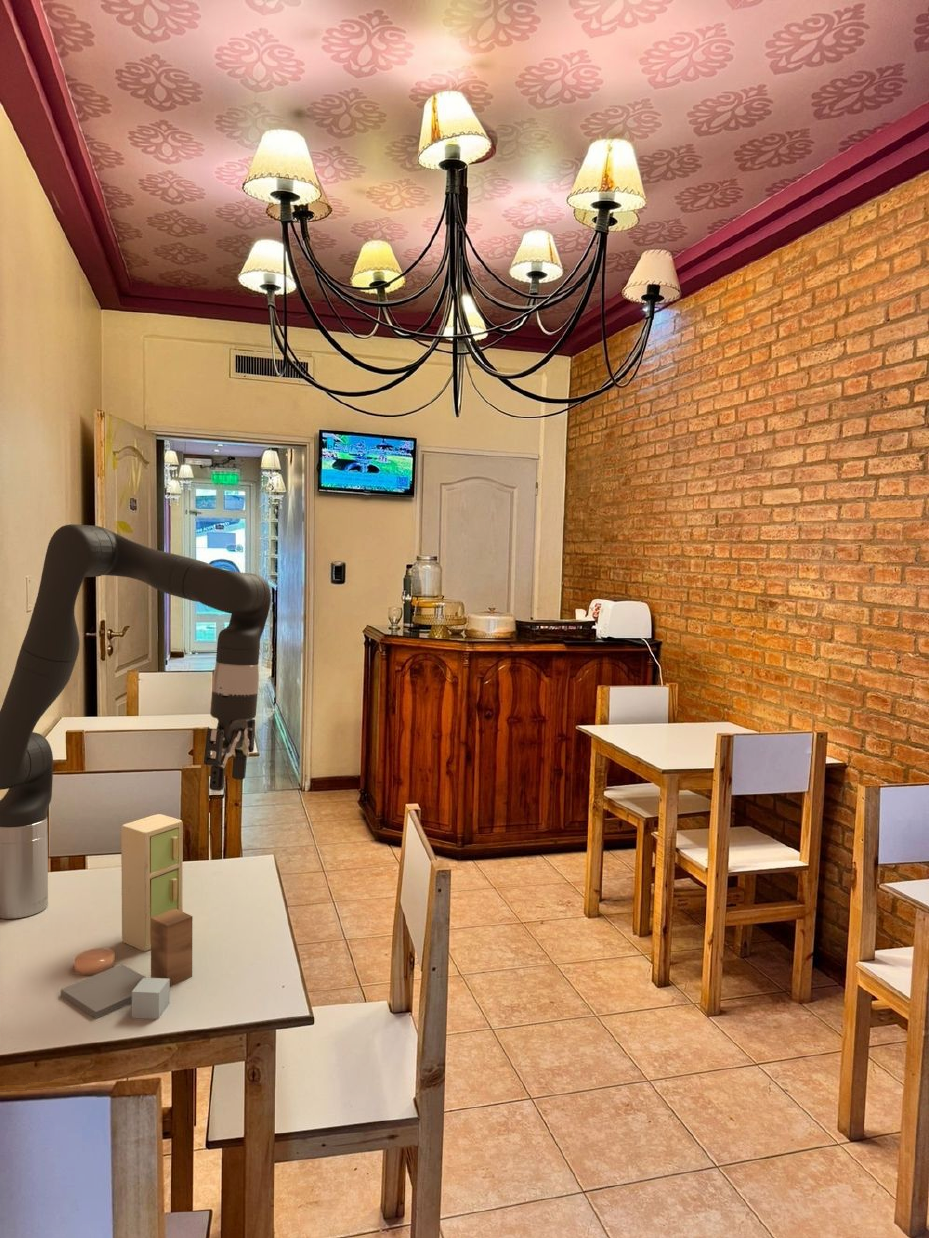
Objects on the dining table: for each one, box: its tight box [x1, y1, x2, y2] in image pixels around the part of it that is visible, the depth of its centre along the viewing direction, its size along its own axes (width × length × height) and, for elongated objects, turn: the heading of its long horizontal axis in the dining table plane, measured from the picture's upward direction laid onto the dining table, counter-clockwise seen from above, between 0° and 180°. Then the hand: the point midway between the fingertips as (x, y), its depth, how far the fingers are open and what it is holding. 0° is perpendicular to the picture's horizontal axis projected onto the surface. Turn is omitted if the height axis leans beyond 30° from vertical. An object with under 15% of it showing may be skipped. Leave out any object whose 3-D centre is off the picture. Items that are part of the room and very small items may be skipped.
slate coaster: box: [60, 963, 147, 1019], centre depth 124 cm, size 10×10×1 cm
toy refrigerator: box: [120, 813, 184, 952], centre depth 141 cm, size 8×7×21 cm
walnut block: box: [150, 909, 193, 987], centre depth 129 cm, size 4×4×10 cm
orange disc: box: [73, 947, 115, 976], centre depth 132 cm, size 6×6×2 cm
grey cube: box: [131, 977, 171, 1019], centre depth 120 cm, size 4×4×4 cm
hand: (227, 784), depth 138 cm, fingers open, 8 cm apart
